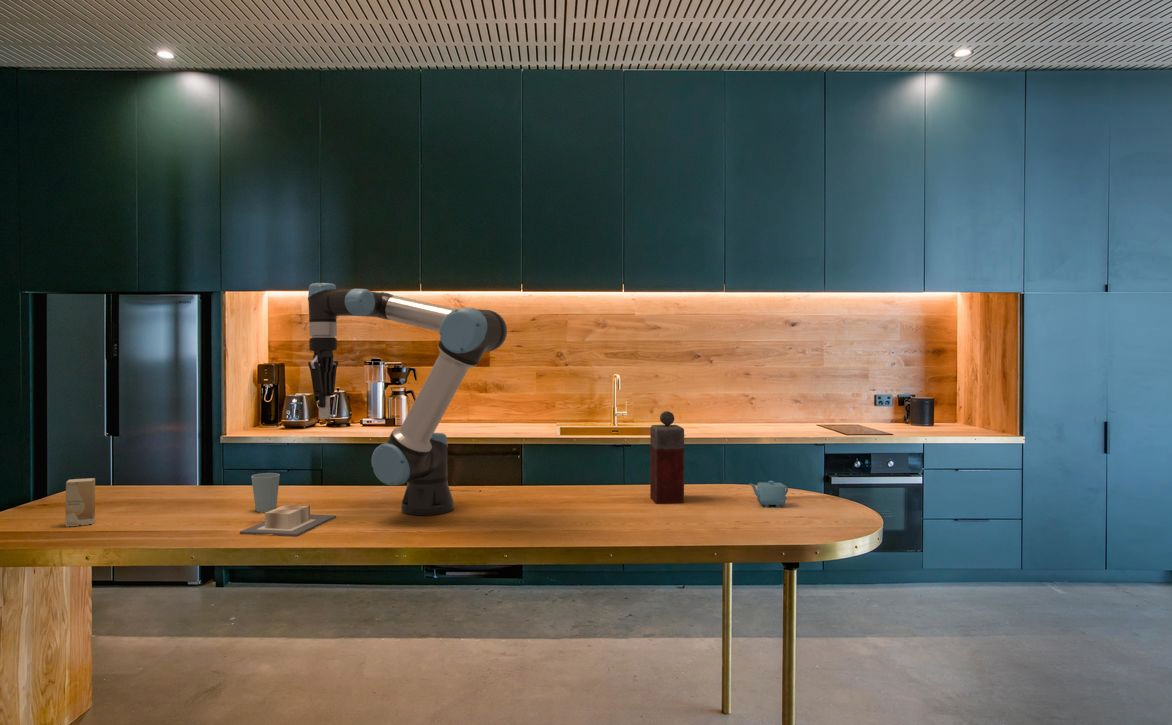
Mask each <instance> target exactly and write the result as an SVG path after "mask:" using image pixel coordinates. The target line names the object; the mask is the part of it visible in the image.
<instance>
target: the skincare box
mask: <svg viewBox="0 0 1172 725" xmlns="http://www.w3.org/2000/svg"><path fill="white" fill-rule="evenodd" d="M95 522H96V478H95V477H93V478H74V479H68V480H67V481H66V482H65V527H67V528H69V526H70V527H79V525H81V526H90V525H89V524H92V525H93V524H94V523H95Z"/></svg>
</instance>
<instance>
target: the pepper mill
mask: <svg viewBox="0 0 1172 725" xmlns="http://www.w3.org/2000/svg"><path fill="white" fill-rule="evenodd" d="M659 420H660V422H661V423H662V424H652V425H650V434H649V435H650V441H649V442H650V444H649V445H650V446H649V447H650V448H649V449H650V451H649V452H650V462H649V463H650V466H649V467H650V470H649V471H650V473H649V474H650V475H649V476H650V481H649V482H650V489H649V492H650V494H649V495H650V500H651V501H652V502H653V503H654V504H656V505H669V504H671V505H672V504H675V505H676V504H685V429H684V427H682V426H680V425H678V424H673V423H674V421H675V415H674V414H673V412H672V411H669V410H664V411H663V412H661V413H660V416H659Z"/></svg>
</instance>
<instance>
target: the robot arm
mask: <svg viewBox="0 0 1172 725" xmlns="http://www.w3.org/2000/svg"><path fill="white" fill-rule="evenodd" d="M336 286H337V285H336V284H334V283H331V282H330V283H329V282H315V283H314V282H313V283H311V284H310V285H309V286H308V295H307V296H308V297H307V302H308V303H307V304H308V323H309V324H308V329H309V330H308V331H309V332H308V333H309V335H308V336H310V337H311V338H309V340H308V341H309V343H308V344H309V345H308V346H309V351H312V352H313V354H312V361H308V362H307V363H308V368H309V372H310V377H311V385H312V391H313V395H314V396H315V397H317V398H318V419H319V420H330V419H331V397H333V396H334V395H335V389H336V381H337V380H336V378H337V368H338V367H339V366H338V365H339V360H335V359H334V358H335V356H334V352H333V351H337V350H338V339H337V337H336V336H338V327H337V326H338V325H337V323H338V322H337V318H338V317H366V318H367V317H369V318H372V317H373V318H380V319H383V320H387V321H393V322H396V323H401V324H405V325H409V326H413V327H418V328H421V329H426V330H430V331H434V332H438V333H439V335H440V336H439V342H438V344H437V348H438V351H439V355H438V357H437V358H436V360H435V361H434V365H433V366H432V368H431V370H430V372H429V374H428V376H427V377H426V379H425V381H424V382H423V385H422V387H421V389H420V391H419V392H418V394H417V396H416V398H415V399H414V402H413V403H412V404H411V407H410V410H409V411H408V413H407V414H406V417H405V419H404V420H403V423H402V424H401V426H398V427H394V428H393V430H392V431H391V433H390V434H389V437H388V439H387V440H386V442H384V443H382V444H380V445H378V446H376V448H375V449H374V450H373V453H372V455H371V460H370V461H371V467H372V469H373V473H374V475H375V477H376V478H377V479H378V480H379V481H380V482H381V483H383V484H384V485H388V486H397V485H403V484H405V483H407V485H406V488H405V491H404V495H403V497H402V500H401V505H400V506H401V510H400V511H401V512H402V513H403V514H406V515H410V516H411V515H412V516H432V515H433V516H434V515H441V514H446V513H449V512H451V511H453V510H454V507H455V506H454V504H455V503H454V502H455V501H454V498H453V495H452V492H451V488H450V486H449V483H448V470H449V469H448V467H449V466H448V458H449V454H448V448H449V445H448V436H447V435H446V434H445V433H443V432H435V431H436V429H437V427H438V425H439V424H440V422H441V420H442V418H443V416H444V414H445V413H446V411H447V409H448V407H449V405H450V403H451V402H452V400H453V398H454V396H455V394H456V393H457V390H458V389H459V387H460V385H461V384H462V381H463V379H464V378H465V376H466V374H467V372H468V370H469V369H470V368H475V367H476V366H478V364H479V362H480V361H481V358H482V356H483V354H484V353H488V352H489V353H490V352H492V351H493V352H494V351H496V350H498V349H499V348H500V347H501V346H502V345H504V342H505V341H506V338H507V334H508V327H507V324H506V321H505V320H504V317H502V316H501V315H500V314H499V313H498V312H496V311H494V310H490V309H481V308H479V309H477V308H474V307H462V308H457V309H456V308H452V307H448V306H444V305H439V304H435V303H430V302H425V301H421V300H416V299H411V298H406V297H403V296H400V295H394V294H391V293H389V292H382V291H381V292H380V291H370V290H369V289H366V288H350V289H337V287H336Z"/></svg>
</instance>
